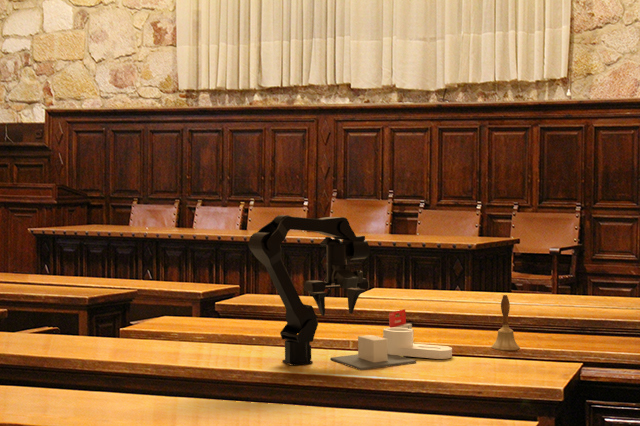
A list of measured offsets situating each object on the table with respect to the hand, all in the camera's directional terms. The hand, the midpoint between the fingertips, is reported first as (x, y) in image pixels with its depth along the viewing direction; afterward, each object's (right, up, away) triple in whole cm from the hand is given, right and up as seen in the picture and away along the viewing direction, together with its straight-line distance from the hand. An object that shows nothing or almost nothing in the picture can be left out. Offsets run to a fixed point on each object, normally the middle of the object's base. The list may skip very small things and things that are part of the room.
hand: (337, 314), depth 233 cm
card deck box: (+10, -12, -7) cm, 17 cm away
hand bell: (+51, -12, +12) cm, 54 cm away
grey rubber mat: (+10, -12, -7) cm, 17 cm away
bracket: (+23, -12, +1) cm, 26 cm away
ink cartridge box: (+20, -12, +23) cm, 33 cm away
